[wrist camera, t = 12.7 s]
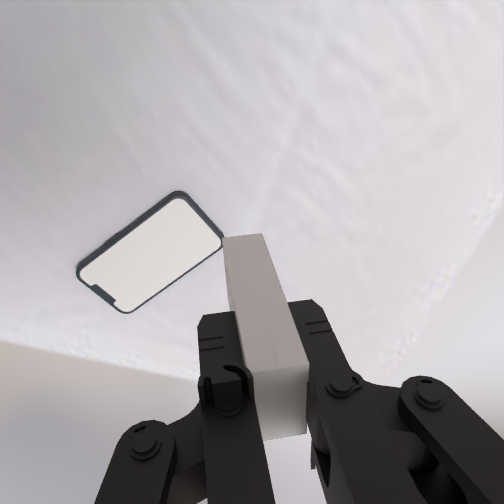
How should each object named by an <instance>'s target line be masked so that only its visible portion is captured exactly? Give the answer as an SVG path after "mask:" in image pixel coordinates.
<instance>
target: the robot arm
mask: <svg viewBox="0 0 504 504" xmlns="http://www.w3.org/2000/svg"><path fill="white" fill-rule="evenodd" d="M222 242H223V253H224V263H225V273H226V284H227V294H228V301H229V307H230V311H229V312H222V313H215V314H207V315H203V316H202V318H201V320H200V322H199V325H198V327H197V330H198V345H199V360H200V374H201V376H200V377H199V381H198V392H199V398H200V400H199V403H198V404H197V406H196V407H195V408H194V410H192V411H191V413H189V414H188V415H186V416H185V417H183V418H181V419H180V420H177V421H175V422H173V423H171V424H169V425H166V424H165V423H163V422H160V421H156V420H149V421H142V422H140V423H138V424H136V425H133V426H132V427H130V428H129V429H128V430H127V431H126V432H125V433H124V434H123V435H122V436H121V438H120V440H119V441H118V443H117V445H116V448H115V451H114V453H113V456H112V458H111V461H110V464H109V466H108V469H107V472H106V474H105V477H104V479H103V482H102V484H101V487H100V490H99V492H98V495H97V497H96V500H95V503H94V504H197V503H198V502H200V501H202V500H204V499H206V498H207V500H208V504H275V499H274V494H273V489H272V484H271V479H270V474H269V469H268V464H267V459H266V454H265V450H264V444H263V441H266V440H271V439H277V438H283V437H289V436H294V435H300V434H306V433H307V424H308V427H309V431H310V434H311V437H312V442H311V469H315V465H316V468H317V471H318V475H319V478H320V481H321V485H322V488H323V492H324V495H325V499H326V502H327V504H504V440H503V439H502V438H501V437H500V436H499V435H498V434H497V433H496V432H495V431H494V430H493V429H492V428H491V427H490V426H489V425H488V424H487V423H486V422H485V421H484V420H483V419H481V417H479V415H478V414H476V413H475V412H474V411H473V410H472V409H471V408H470V407H469V406H468V405H467V404H466V403H465V402H464V401H463V400H462V399H461V398H460V397H459V396H458V395H457V394H456V393H455V392H454V391H453V390H452V389H451V388H450V387H448V386H447V385H446V384H444V383H443V382H441V381H439V380H437V379H434V378H432V377H427V376H415V377H411V378H409V379H407V380H406V381H404V382H403V384H402V387H401V388H397V387H390V386H381V385H376V384H372V383H370V382H367V381H365V380H363V378H362V377H361V376H360V375H359V374H357V373H356V372H354V371H353V370H352V369H351V368H350V366H349V364H348V362H347V360H346V358H345V355H344V353H343V351H342V349H341V347H340V345H339V343H338V340H337V338H336V336H335V334H334V332H333V331H332V328H331V325H330V323H329V322H328V319H327V317H326V315H325V313H324V310H323V308H321V307H320V306H319V305H318V304H317V303H315V302H314V301H313V300H312V299H310V300H303V301H295V302H288V303H287V301H286V298H285V295H284V293H283V290H282V287H281V284H280V282H279V279H278V276H277V273H276V271H275V268H274V265H273V262H272V259H271V257H270V254H269V251H268V248H267V246H266V243H265V240H264V237H263V235H262V233H260V234H251V235H243V236H234V237H226V238H222Z"/></svg>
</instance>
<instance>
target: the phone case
mask: <svg viewBox="0 0 504 504" xmlns="http://www.w3.org/2000/svg"><path fill="white" fill-rule="evenodd" d="M222 238H224V235H223V233H222V232H221V231H220V230H219V229H218V227H217V226H216V225H215V224H214V223H213V222H212V221H211V220H210V219H209V217H208V216H207V215H206V214H205V213H204V212H203V211H202V210H201V209H200V207H199V206H198V205H197V204H196V203H195V202H194V201H193V200H192V199H191V197H190V196H189V195H188V194H187V193H185V192H182V191H175V192H173V193H171V194H170V195H168V196H167V197H166V198H164V199H163V200H162V201H160V202H159V203H158V204H157V205H155V206H154V207H153V208H151V209H150V210H149V211H147V212H146V213H145V214H143V215H142V216H141V217H139V218H138V219H137V220H136V221H134V222H133V223H132V224H130V225H129V226H128V227H126V228H125V229H124V230H122V231H121V232H120V233H119V234H117V235H115V236H114V237H113V238H111V239H110V240H109V241H107V242H106V243H105V244H104V245H103V246H102V247H100V248H99V249H98V250H96V251H95V252H94V253H92V254H91V255H90V256H89V257H87V258H86V259H85V260H83V261H82V262H81V263H80V264H79V265H78V267H77V270H76V276H77V278H78V279H79V280H80V281H81V282H82V283H83V284H85V285H86V286H87V287H88V288H90V289H91V290H92V291H93V292H95V293H96V294H97V295H98V296H100V297H101V298H102V299H104V300H105V301H106V302H107V303H109V304H110V305H111V306H112V307H114V308H115V309H116V310H117V311H119V312H121V313H124V314H129V313H132V312H134V311H135V310H137V309H138V308H139V307H141V306H142V305H144V304H145V303H146V302H148V301H149V300H151V299H152V298H153V297H155V296H156V295H157V294H159V293H160V292H162V291H163V290H164V289H166V288H167V287H169V286H170V285H171V284H173V283H174V282H176V281H177V280H178V279H180V278H181V277H183V276H184V275H185V274H187V273H188V272H190V271H191V270H192V269H194V268H195V267H197V266H198V265H199V264H201V263H202V262H203V261H205V260H206V259H208V258H209V257H210V256H212V255H213V254H215V253H216V252H217V251H219V250H220V249H221V248H222V247H223V242H222Z"/></svg>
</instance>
